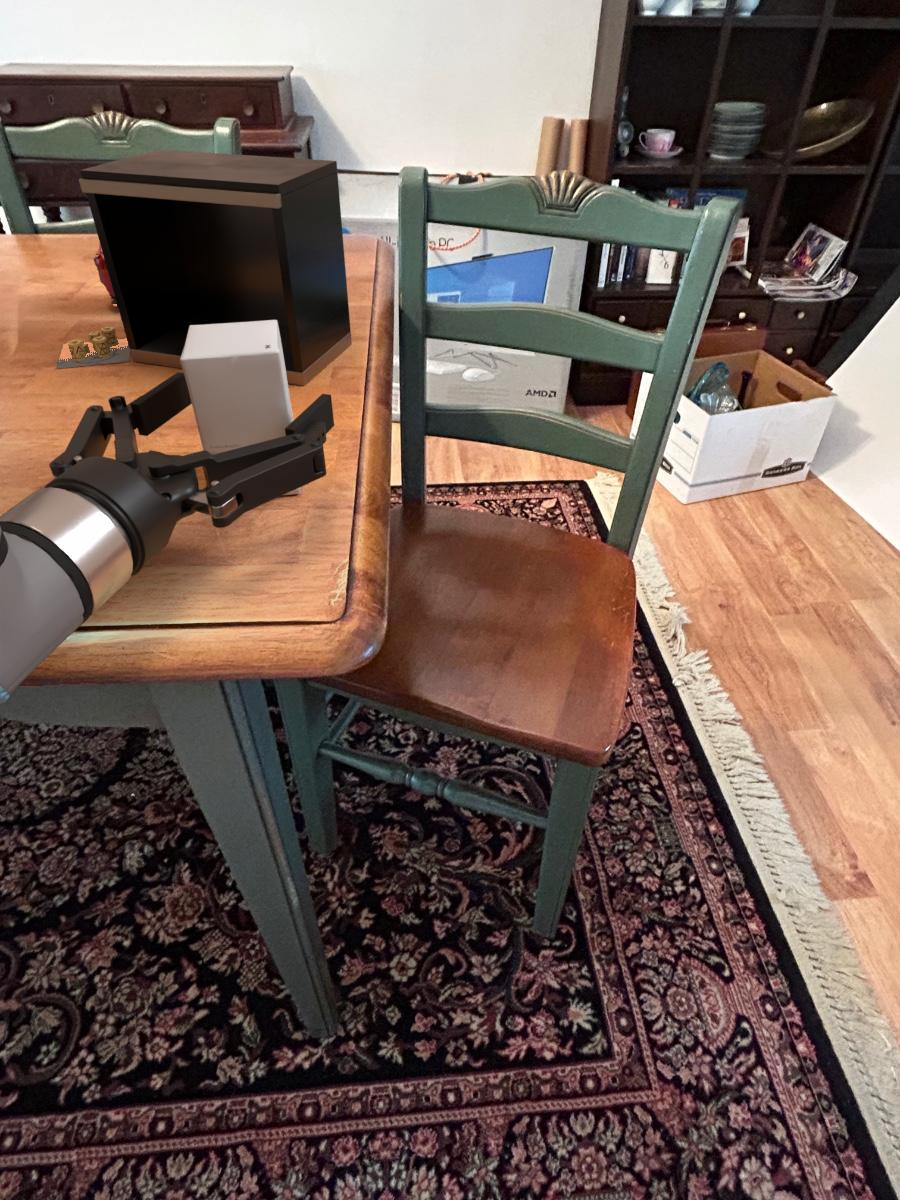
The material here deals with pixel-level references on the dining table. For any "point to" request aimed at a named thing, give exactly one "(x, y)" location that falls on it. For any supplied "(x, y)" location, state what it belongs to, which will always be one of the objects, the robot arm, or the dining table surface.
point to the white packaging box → (237, 384)
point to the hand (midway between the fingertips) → (255, 398)
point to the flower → (104, 273)
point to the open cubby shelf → (224, 251)
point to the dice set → (100, 346)
